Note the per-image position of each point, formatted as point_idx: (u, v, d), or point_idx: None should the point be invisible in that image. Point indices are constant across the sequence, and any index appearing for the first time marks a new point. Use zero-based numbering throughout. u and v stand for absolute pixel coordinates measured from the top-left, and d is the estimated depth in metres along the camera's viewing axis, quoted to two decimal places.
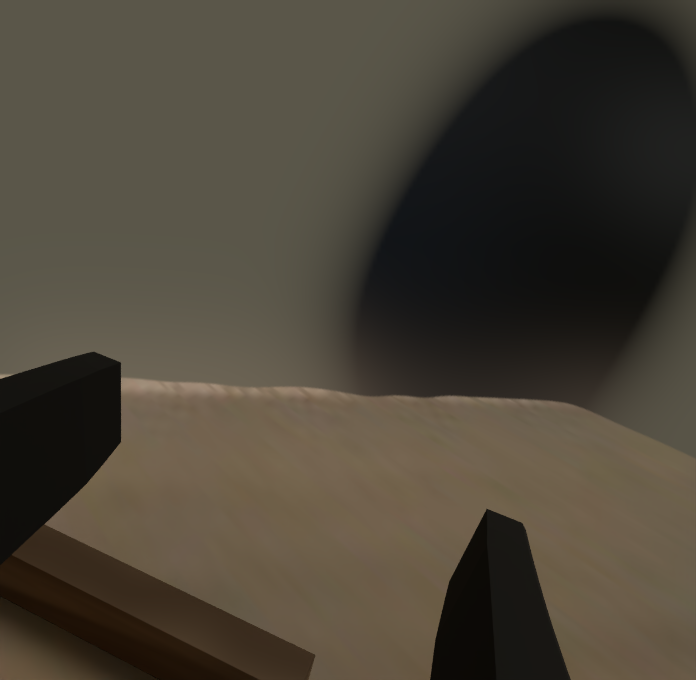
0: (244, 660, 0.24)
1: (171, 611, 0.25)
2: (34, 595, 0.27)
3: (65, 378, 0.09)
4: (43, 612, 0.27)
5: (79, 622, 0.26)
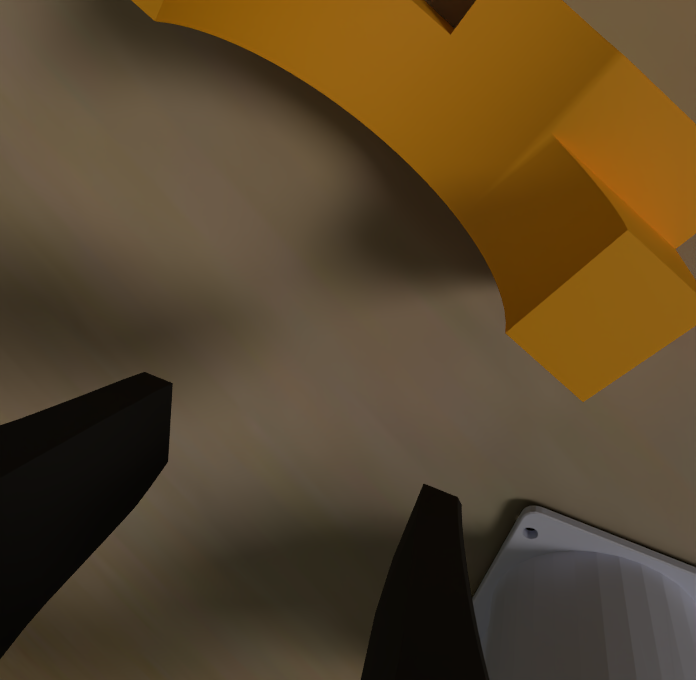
0: None
1: None
2: None
3: (121, 402, 0.09)
4: None
5: None
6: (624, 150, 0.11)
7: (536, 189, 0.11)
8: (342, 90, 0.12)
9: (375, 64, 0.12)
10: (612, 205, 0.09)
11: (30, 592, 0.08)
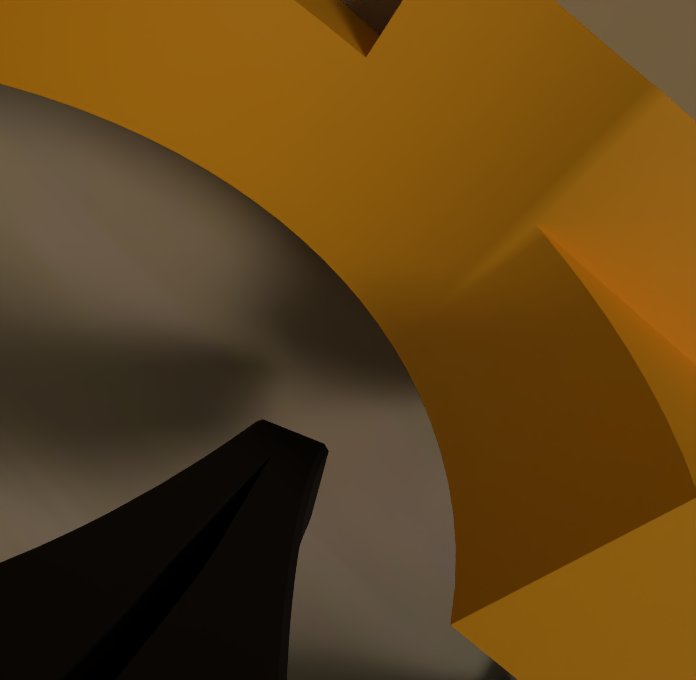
0: None
1: None
2: None
3: (254, 457, 0.08)
4: None
5: None
6: (665, 255, 0.06)
7: (511, 318, 0.07)
8: (205, 146, 0.08)
9: (250, 105, 0.07)
10: (653, 394, 0.05)
11: None
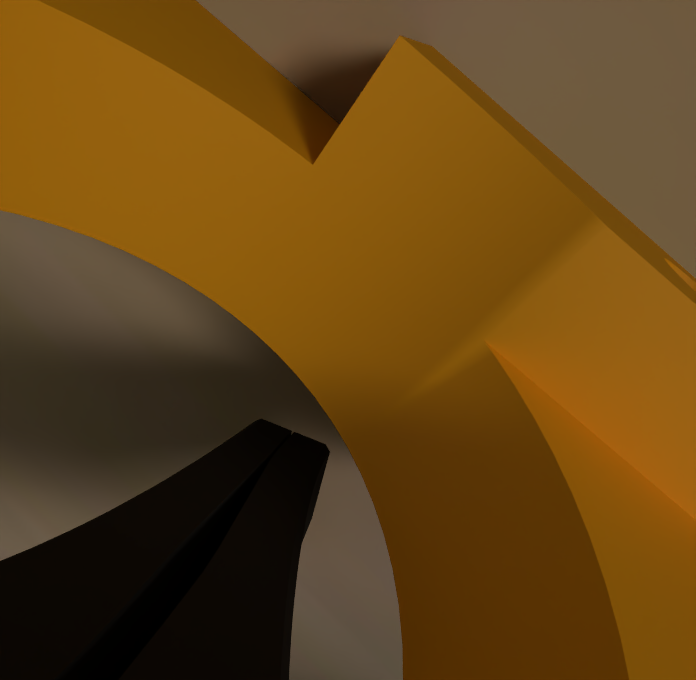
0: None
1: None
2: None
3: (253, 455, 0.08)
4: None
5: None
6: (613, 376, 0.06)
7: (461, 434, 0.06)
8: (153, 244, 0.08)
9: (197, 206, 0.07)
10: (595, 552, 0.05)
11: None
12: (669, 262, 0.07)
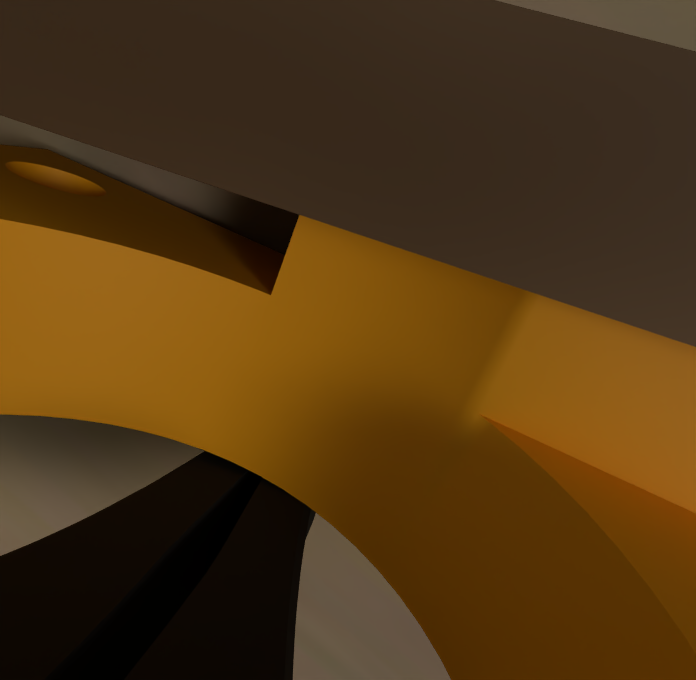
0: None
1: None
2: None
3: None
4: None
5: None
6: (619, 414, 0.06)
7: (487, 519, 0.06)
8: (138, 410, 0.08)
9: (172, 363, 0.07)
10: (662, 605, 0.04)
11: None
12: None
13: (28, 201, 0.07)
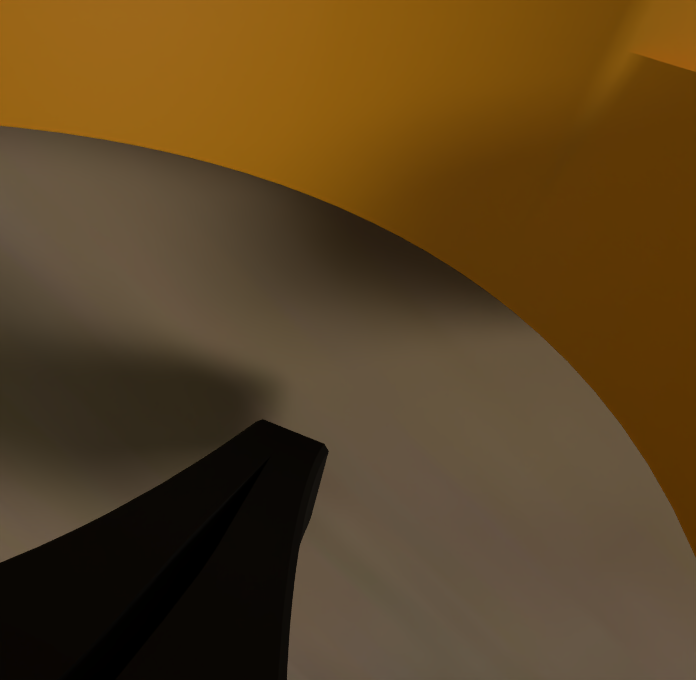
0: None
1: None
2: None
3: (254, 456, 0.08)
4: None
5: None
6: None
7: (636, 181, 0.05)
8: (206, 136, 0.07)
9: (240, 69, 0.06)
10: None
11: None
12: None
13: None
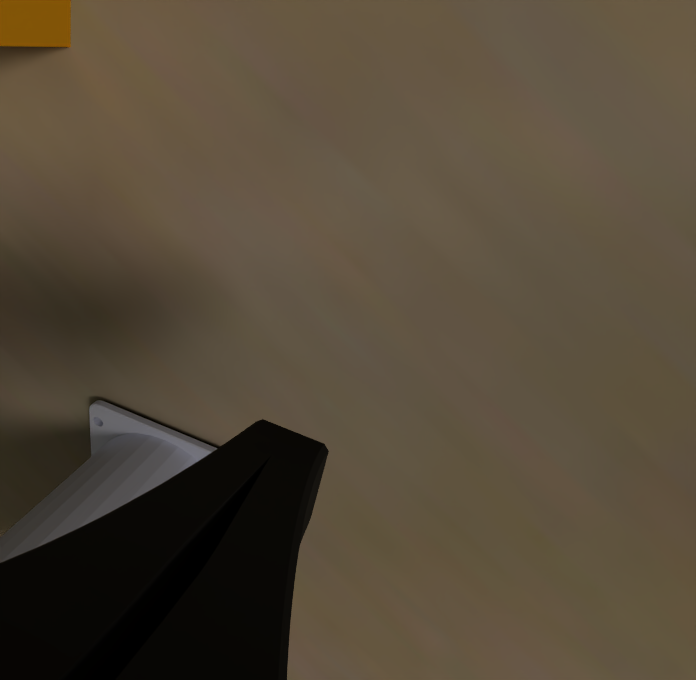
0: None
1: None
2: None
3: (254, 457, 0.08)
4: None
5: None
6: None
7: None
8: None
9: None
10: None
11: None
12: None
13: None
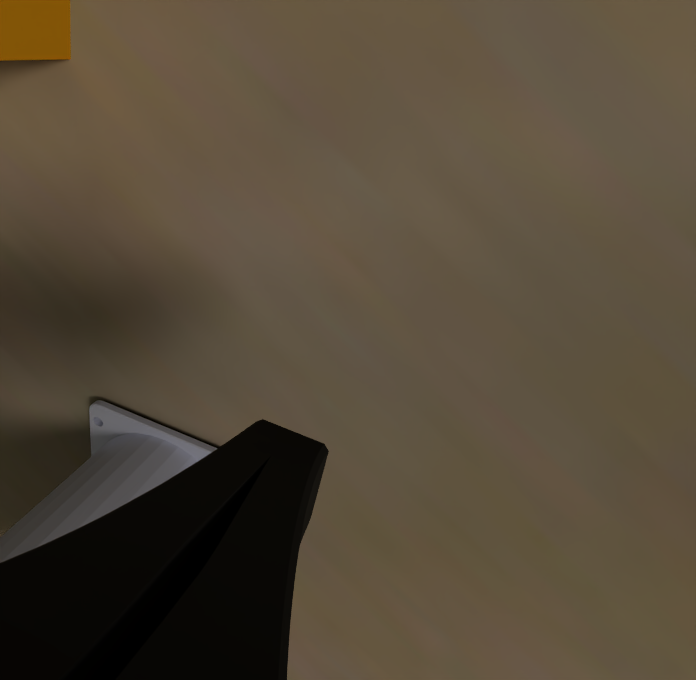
0: None
1: None
2: None
3: (254, 457, 0.08)
4: None
5: None
6: None
7: None
8: None
9: None
10: None
11: None
12: None
13: None
